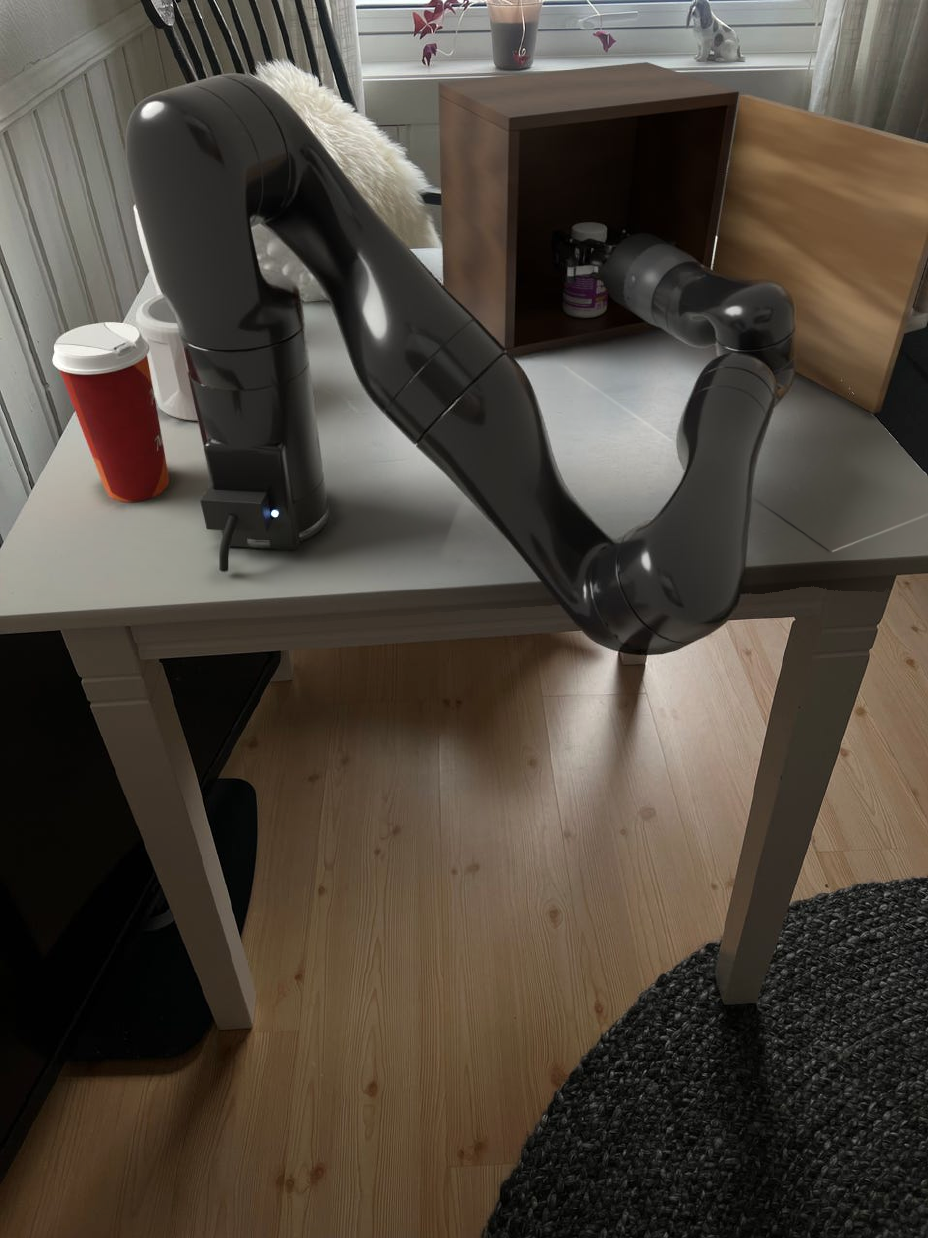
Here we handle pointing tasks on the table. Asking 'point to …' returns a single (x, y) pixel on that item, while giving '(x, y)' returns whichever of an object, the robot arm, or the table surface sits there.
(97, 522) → the table surface
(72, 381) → the paper cup
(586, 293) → the pill bottle
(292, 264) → the cauliflower
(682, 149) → the cabinet
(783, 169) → the cabinet door
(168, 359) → the mug
